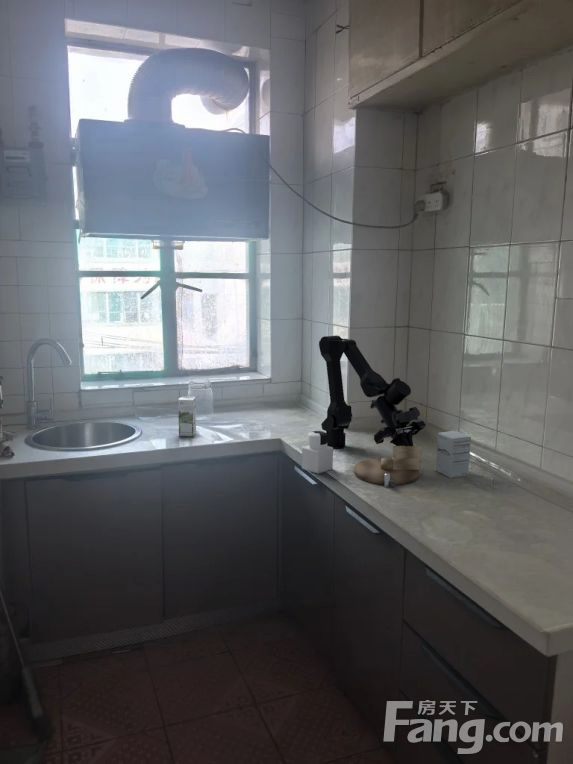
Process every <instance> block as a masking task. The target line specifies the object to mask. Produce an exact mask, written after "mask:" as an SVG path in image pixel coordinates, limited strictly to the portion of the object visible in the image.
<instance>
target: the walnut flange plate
mask: <svg viewBox="0 0 573 764" xmlns="http://www.w3.org/2000/svg"><path fill="white" fill-rule="evenodd" d="M422 459H423V447H422V446H421V445H420V446H419V445H413V446H396V445H392V458H391V457H382V458H371V459H370V458H369V459H365V460H361V461H359V462H357V463H355V465H354V467H353V474H354V475H355V476H356V477H357V478H359V479H360V480H362V481H365V482H369V483H373V484H378V485H384V478H385V473H390V487H391V488H392V487H395V486H397V485H405V484H410V483H413V482H415V481H418V479H420V472H421V470H422V462H423V461H422ZM390 487H389V488H390Z"/></svg>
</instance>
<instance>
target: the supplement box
mask: <svg viewBox="0 0 573 764" xmlns="http://www.w3.org/2000/svg"><path fill="white" fill-rule="evenodd" d="M471 441H472V436H470V435H468V434H465V433H462V432H460V431H457V430H450V431H444V432H443V431H442V432H437V444H436V459H435V471H436V472H438V473H440V474H442V475H444V476H447V477H448V478H450V479H451V478H458V477H464V476H469V470H470V469H469V468H470V467H469V466H470V454H471V443H472V442H471Z"/></svg>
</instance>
